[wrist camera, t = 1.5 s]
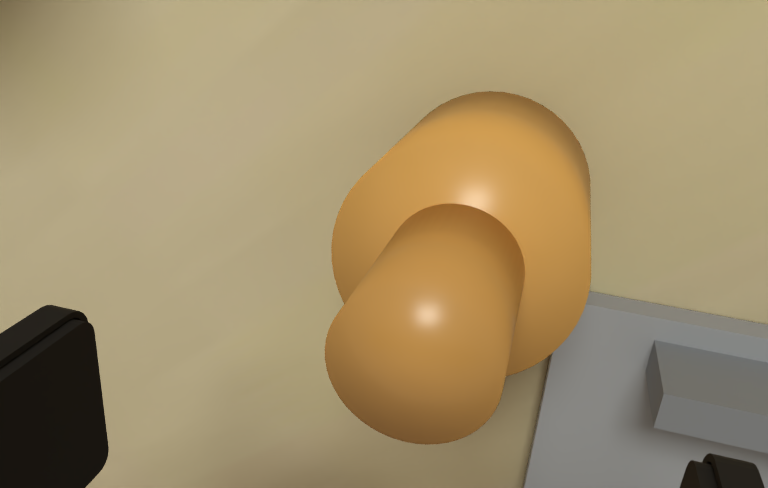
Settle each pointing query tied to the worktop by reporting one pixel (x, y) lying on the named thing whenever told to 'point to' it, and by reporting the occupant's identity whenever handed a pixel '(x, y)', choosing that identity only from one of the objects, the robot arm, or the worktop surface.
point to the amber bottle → (458, 265)
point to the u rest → (649, 397)
